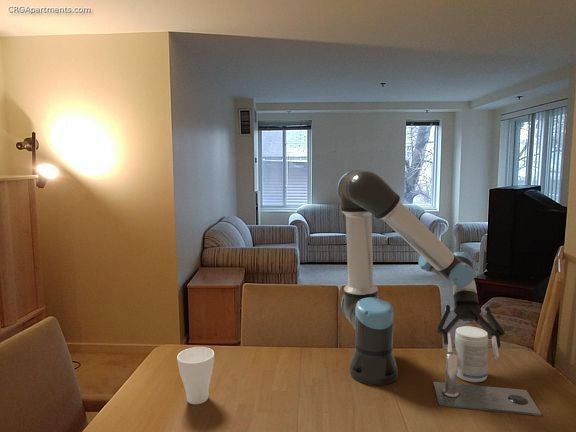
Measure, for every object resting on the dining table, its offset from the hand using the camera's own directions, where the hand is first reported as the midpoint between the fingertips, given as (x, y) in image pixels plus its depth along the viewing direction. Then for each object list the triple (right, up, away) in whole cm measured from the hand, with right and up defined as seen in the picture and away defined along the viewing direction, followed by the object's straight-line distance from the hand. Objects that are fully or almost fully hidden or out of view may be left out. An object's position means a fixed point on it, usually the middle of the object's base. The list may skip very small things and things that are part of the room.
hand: (473, 356), depth 132 cm
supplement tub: (0, -7, +2) cm, 8 cm away
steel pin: (-10, -8, -9) cm, 16 cm away
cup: (-84, -10, -9) cm, 85 cm away
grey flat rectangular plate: (-2, -9, -10) cm, 14 cm away
